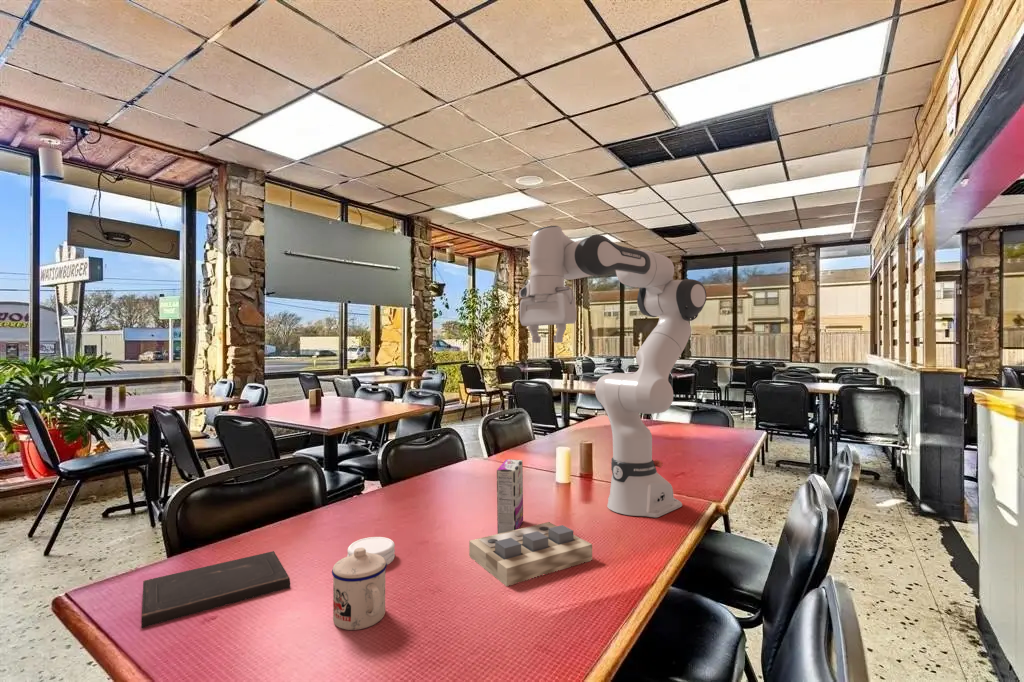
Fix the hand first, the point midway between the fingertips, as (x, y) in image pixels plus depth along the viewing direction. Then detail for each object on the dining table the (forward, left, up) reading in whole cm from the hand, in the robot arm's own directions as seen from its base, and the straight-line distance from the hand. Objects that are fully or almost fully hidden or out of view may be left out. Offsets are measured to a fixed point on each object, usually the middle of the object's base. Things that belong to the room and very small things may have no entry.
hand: (546, 342), depth 125 cm
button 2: (+6, +14, -45) cm, 48 cm away
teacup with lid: (+51, +17, -48) cm, 72 cm away
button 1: (+20, +14, -45) cm, 52 cm away
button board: (+13, +12, -48) cm, 51 cm away
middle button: (+13, +14, -45) cm, 49 cm away
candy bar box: (+7, -6, -48) cm, 49 cm away
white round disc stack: (+43, -6, -48) cm, 65 cm away
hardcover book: (+72, -9, -49) cm, 88 cm away
